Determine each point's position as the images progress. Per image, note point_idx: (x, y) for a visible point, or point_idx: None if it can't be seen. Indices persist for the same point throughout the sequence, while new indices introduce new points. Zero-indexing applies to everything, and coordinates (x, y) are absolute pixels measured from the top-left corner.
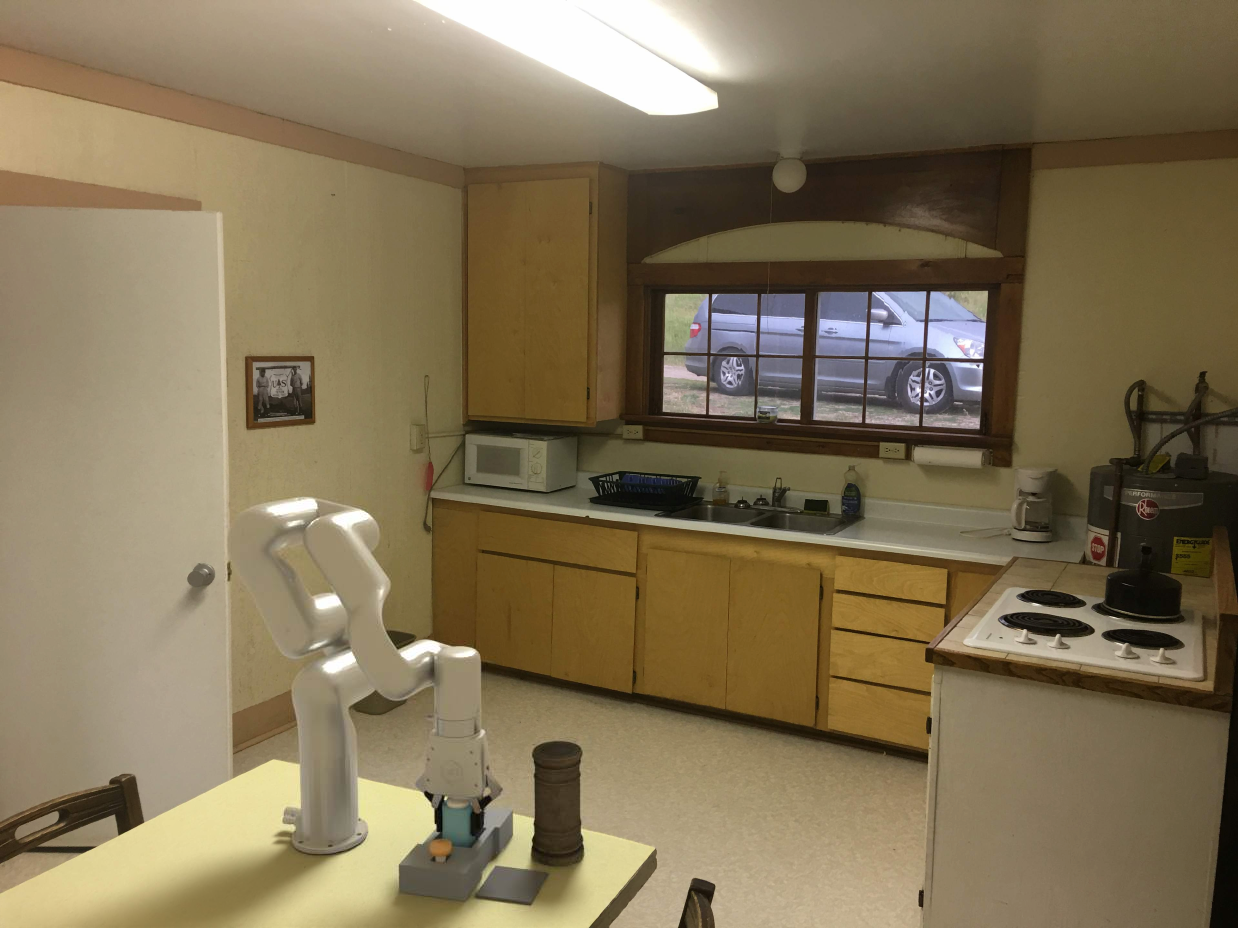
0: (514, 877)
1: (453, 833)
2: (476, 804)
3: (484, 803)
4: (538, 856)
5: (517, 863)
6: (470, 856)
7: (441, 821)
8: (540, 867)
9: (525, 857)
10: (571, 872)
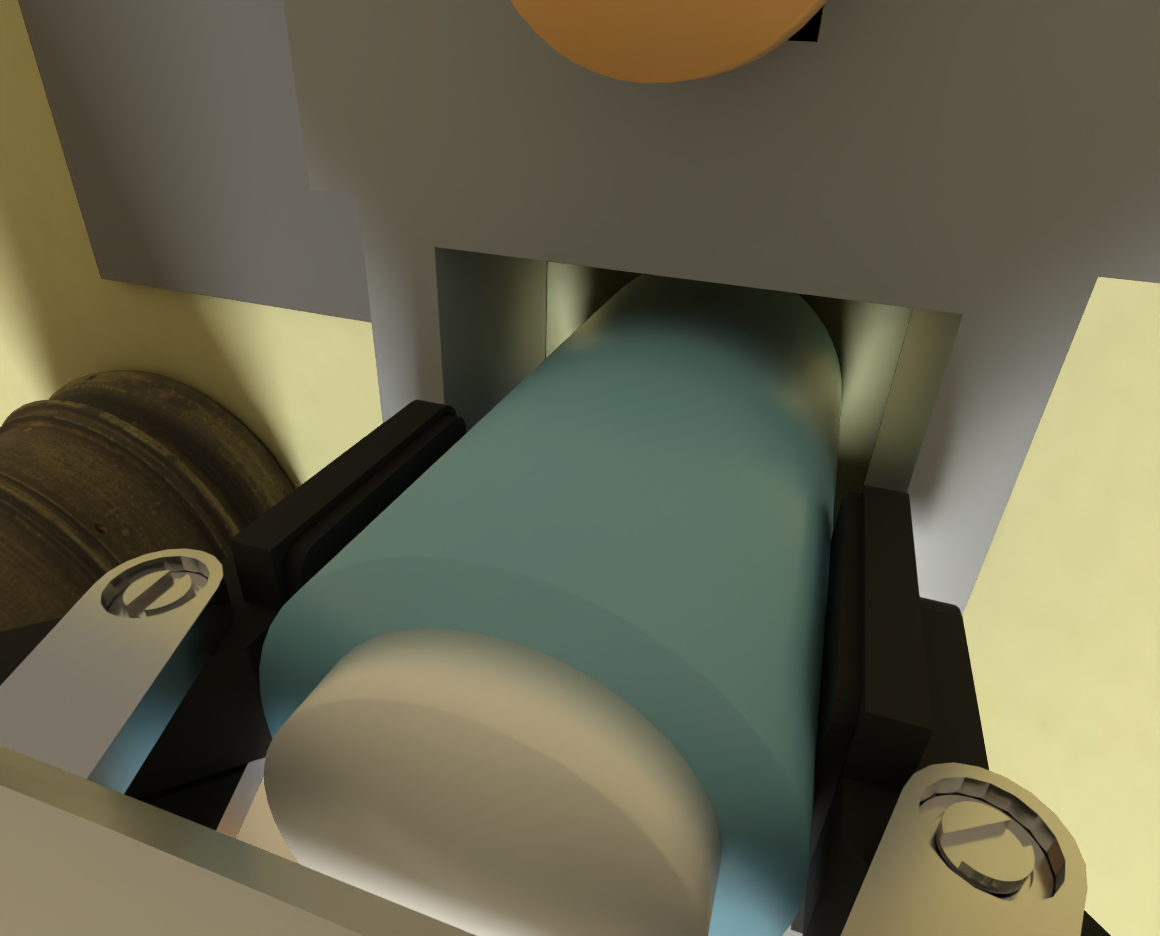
0: (233, 177)
1: (624, 375)
2: (94, 649)
3: (6, 660)
4: (197, 418)
5: (323, 386)
6: (362, 40)
7: (835, 585)
8: (190, 349)
9: (313, 455)
10: (35, 309)
